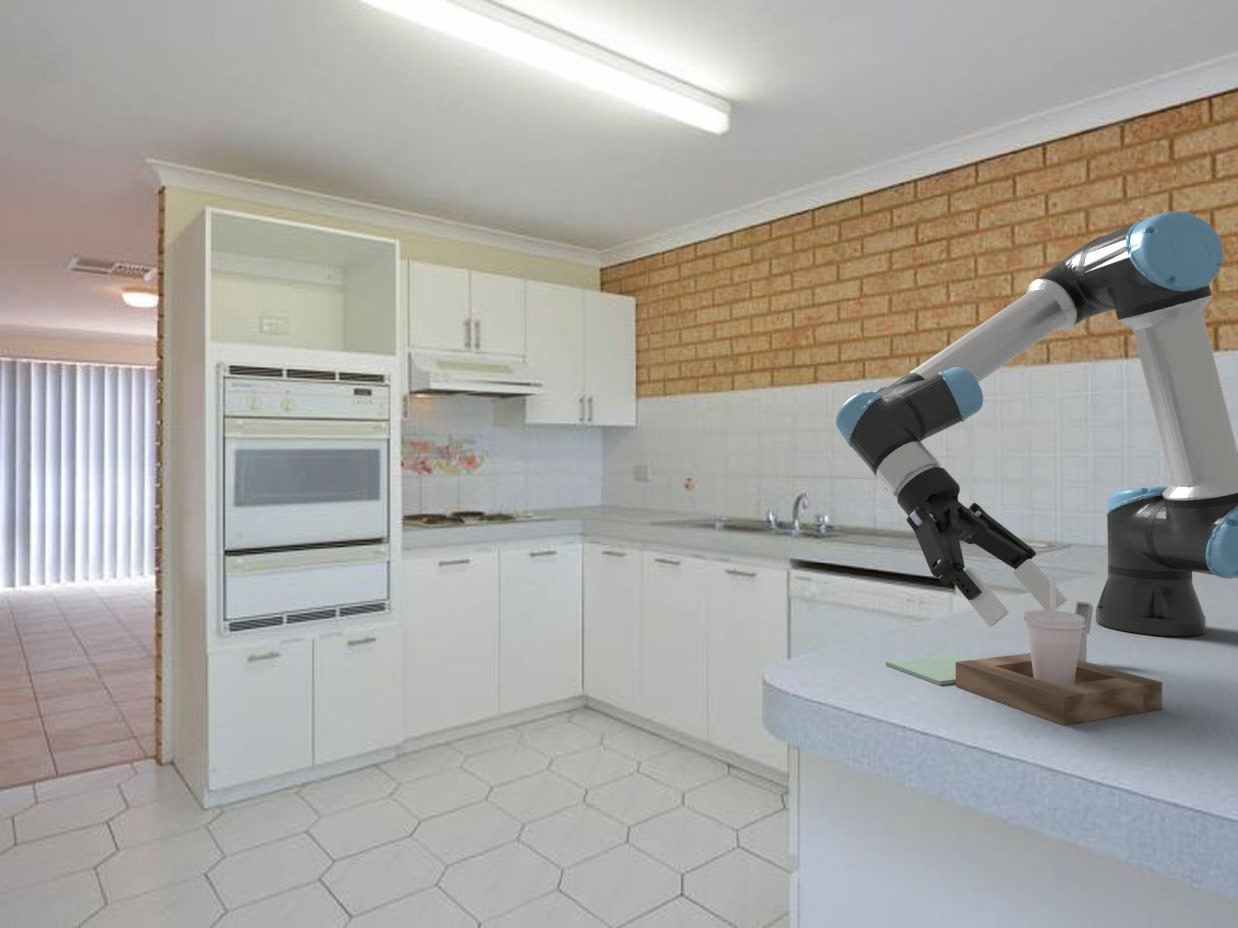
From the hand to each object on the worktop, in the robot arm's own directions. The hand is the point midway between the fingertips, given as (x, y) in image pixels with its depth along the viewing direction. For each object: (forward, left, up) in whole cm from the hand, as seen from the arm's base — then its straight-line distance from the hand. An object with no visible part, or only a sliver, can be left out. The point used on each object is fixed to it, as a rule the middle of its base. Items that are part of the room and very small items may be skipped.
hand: (1030, 613), depth 92 cm
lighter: (-18, -8, -10) cm, 23 cm away
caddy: (-1, +2, -10) cm, 10 cm away
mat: (+2, -11, -10) cm, 15 cm away
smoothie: (-1, +2, -10) cm, 10 cm away
